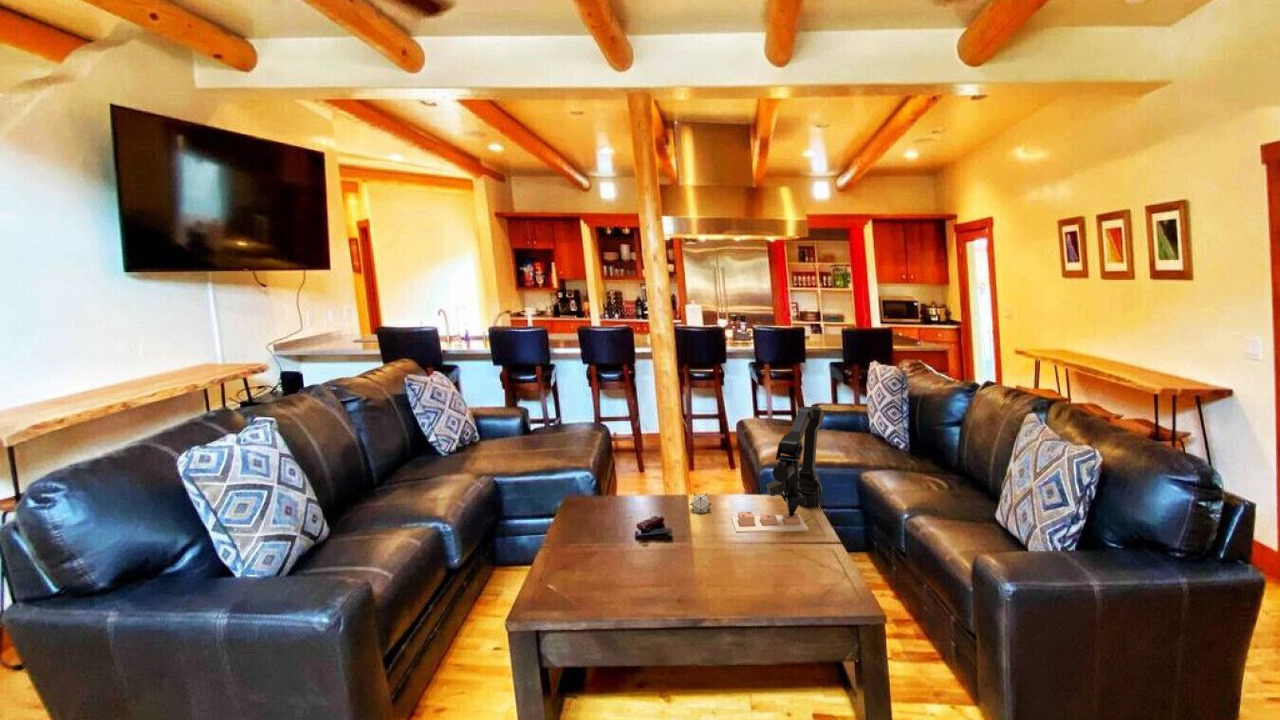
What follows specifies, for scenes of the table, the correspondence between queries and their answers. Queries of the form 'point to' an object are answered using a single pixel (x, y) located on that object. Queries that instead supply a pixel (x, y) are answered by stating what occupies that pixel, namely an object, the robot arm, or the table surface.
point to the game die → (700, 503)
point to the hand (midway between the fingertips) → (791, 515)
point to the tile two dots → (746, 519)
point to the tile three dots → (791, 519)
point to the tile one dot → (768, 519)
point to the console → (760, 528)
